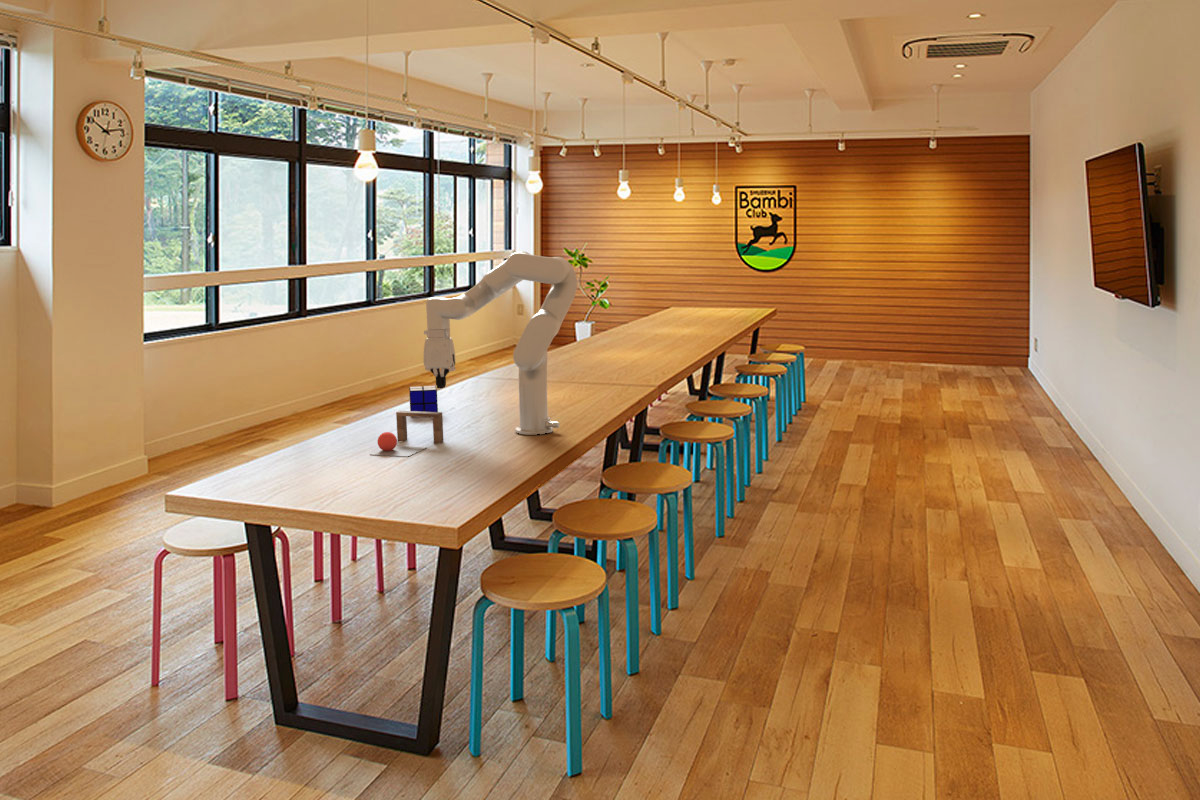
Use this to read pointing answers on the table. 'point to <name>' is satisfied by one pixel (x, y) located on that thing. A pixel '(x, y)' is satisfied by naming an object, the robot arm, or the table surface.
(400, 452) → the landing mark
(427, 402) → the puzzle cube
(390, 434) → the ball
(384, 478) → the table surface
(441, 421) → the bridge
